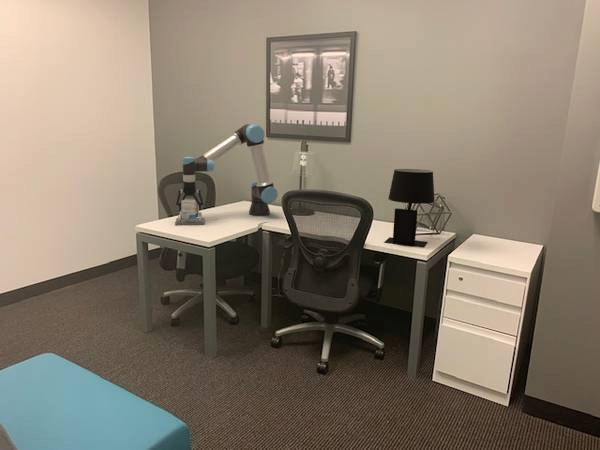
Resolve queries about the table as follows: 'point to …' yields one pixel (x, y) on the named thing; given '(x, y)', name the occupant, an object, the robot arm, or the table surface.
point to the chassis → (190, 220)
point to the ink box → (189, 209)
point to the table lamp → (410, 190)
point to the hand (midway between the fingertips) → (190, 215)
